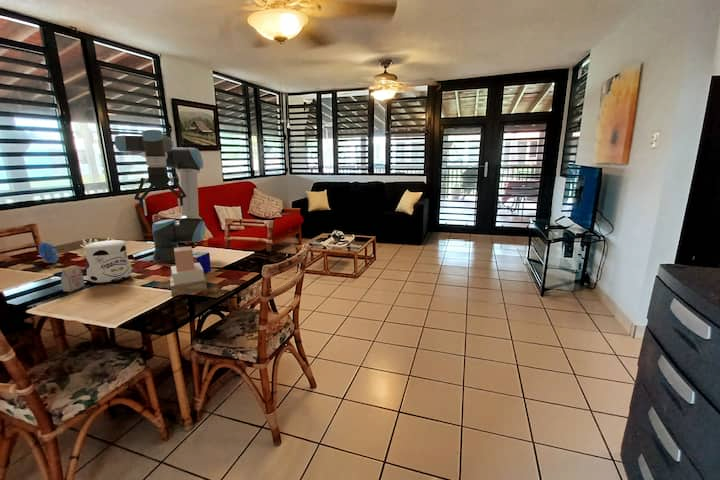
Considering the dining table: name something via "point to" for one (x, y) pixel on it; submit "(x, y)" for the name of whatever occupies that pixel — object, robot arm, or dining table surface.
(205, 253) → the puzzle cube
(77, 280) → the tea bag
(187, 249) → the terracotta block
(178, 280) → the tower top
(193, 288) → the tower base
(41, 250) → the blue thick disc
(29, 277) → the dining table surface
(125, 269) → the milk container
